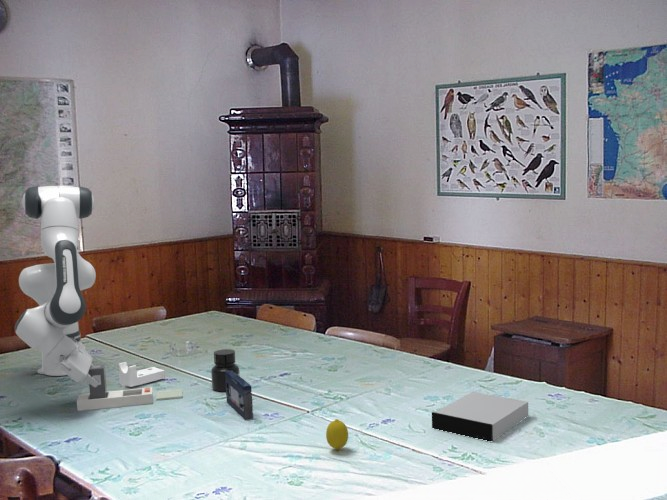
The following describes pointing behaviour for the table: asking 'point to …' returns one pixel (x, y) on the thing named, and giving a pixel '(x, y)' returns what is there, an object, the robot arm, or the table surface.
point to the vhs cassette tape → (239, 395)
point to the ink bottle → (223, 368)
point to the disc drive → (480, 415)
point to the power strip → (116, 399)
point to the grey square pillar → (99, 375)
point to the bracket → (138, 375)
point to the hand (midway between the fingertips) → (98, 380)
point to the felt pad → (169, 394)
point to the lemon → (337, 434)
